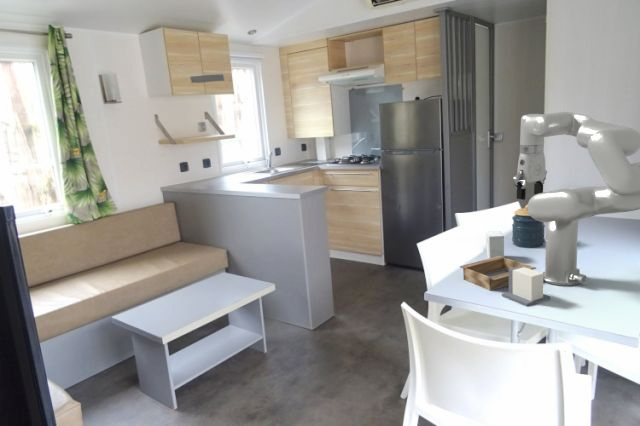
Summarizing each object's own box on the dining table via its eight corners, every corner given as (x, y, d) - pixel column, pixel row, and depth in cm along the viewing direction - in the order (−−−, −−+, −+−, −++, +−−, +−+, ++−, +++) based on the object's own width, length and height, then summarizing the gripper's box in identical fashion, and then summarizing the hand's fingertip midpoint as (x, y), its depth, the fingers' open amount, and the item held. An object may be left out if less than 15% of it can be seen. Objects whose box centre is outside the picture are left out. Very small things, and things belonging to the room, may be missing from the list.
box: (543, 297, 141) (543, 273, 140) (531, 301, 140) (531, 276, 138) (520, 288, 150) (520, 265, 148) (508, 292, 148) (508, 269, 146)
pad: (549, 298, 142) (550, 296, 142) (526, 306, 138) (526, 303, 138) (524, 289, 151) (524, 286, 151) (501, 295, 147) (501, 293, 147)
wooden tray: (536, 279, 158) (536, 267, 157) (494, 292, 151) (494, 279, 150) (499, 267, 173) (498, 256, 172) (459, 278, 166) (459, 266, 165)
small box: (504, 261, 179) (504, 236, 177) (489, 261, 180) (489, 236, 178) (500, 255, 186) (500, 230, 184) (486, 255, 188) (486, 231, 186)
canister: (538, 239, 204) (538, 200, 200) (549, 247, 191) (550, 206, 188) (508, 240, 205) (508, 202, 202) (517, 248, 193) (517, 208, 189)
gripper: (524, 153, 152) (523, 202, 156) (556, 147, 160) (554, 194, 164) (506, 152, 158) (504, 199, 163) (537, 146, 167) (535, 191, 171)
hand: (529, 196), depth 163 cm, fingers open, 9 cm apart
